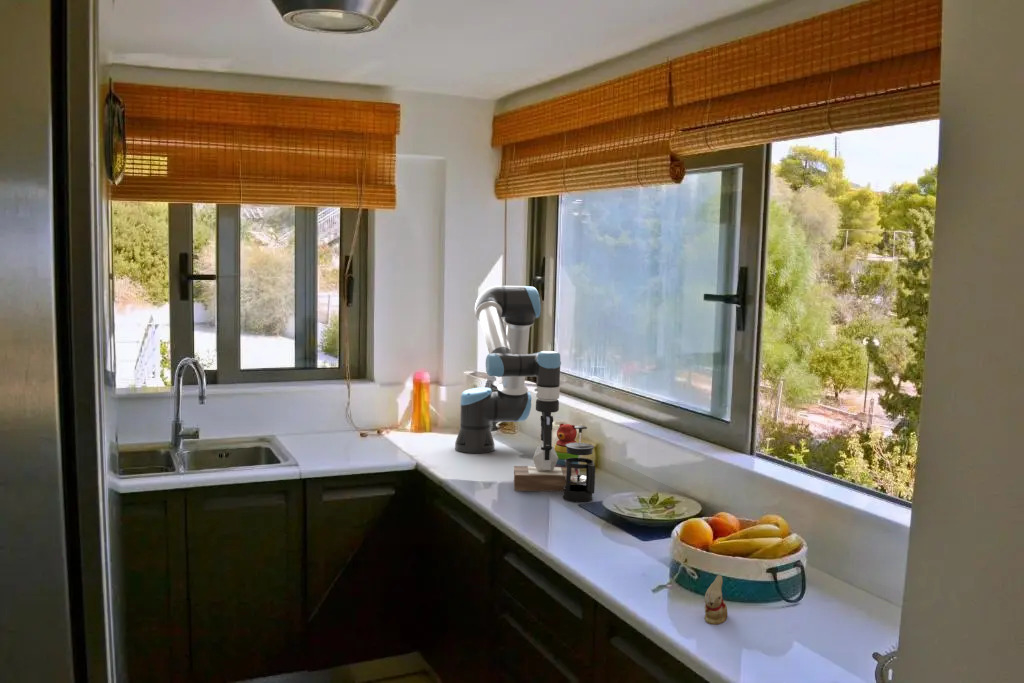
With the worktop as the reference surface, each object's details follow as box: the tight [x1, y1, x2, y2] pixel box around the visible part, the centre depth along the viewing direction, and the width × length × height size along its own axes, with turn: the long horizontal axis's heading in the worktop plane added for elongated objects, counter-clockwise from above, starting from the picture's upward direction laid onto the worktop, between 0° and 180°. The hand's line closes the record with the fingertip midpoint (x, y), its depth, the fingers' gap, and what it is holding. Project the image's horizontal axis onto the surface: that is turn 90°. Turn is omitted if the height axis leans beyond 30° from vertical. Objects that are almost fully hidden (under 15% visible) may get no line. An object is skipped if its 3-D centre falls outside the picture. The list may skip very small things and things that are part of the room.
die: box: [532, 445, 558, 472], centre depth 296 cm, size 8×9×10 cm
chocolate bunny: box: [703, 574, 728, 626], centre depth 194 cm, size 6×8×10 cm
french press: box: [562, 425, 596, 503], centre depth 282 cm, size 12×9×23 cm
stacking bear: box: [554, 423, 579, 475], centre depth 311 cm, size 11×10×18 cm
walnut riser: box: [513, 465, 578, 492], centre depth 297 cm, size 12×20×5 cm, turn 91°
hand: (545, 464), depth 296 cm, fingers open, 11 cm apart
